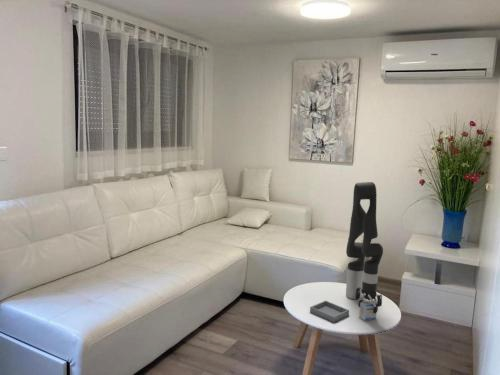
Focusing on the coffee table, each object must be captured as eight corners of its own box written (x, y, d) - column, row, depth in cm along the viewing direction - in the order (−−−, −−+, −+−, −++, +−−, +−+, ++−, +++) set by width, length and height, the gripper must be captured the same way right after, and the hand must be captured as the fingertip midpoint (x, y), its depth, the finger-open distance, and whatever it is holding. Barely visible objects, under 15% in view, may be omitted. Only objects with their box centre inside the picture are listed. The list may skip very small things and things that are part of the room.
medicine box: (364, 321, 210) (365, 305, 208) (358, 317, 214) (360, 302, 212) (376, 319, 213) (377, 303, 212) (370, 315, 217) (371, 300, 216)
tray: (325, 305, 227) (325, 300, 226) (348, 315, 216) (349, 310, 215) (309, 312, 218) (310, 306, 217) (333, 322, 206) (334, 317, 206)
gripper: (386, 283, 207) (383, 313, 209) (362, 275, 218) (359, 304, 220) (378, 286, 202) (375, 316, 204) (354, 278, 213) (352, 307, 215)
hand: (367, 310), depth 212 cm, fingers open, 8 cm apart
